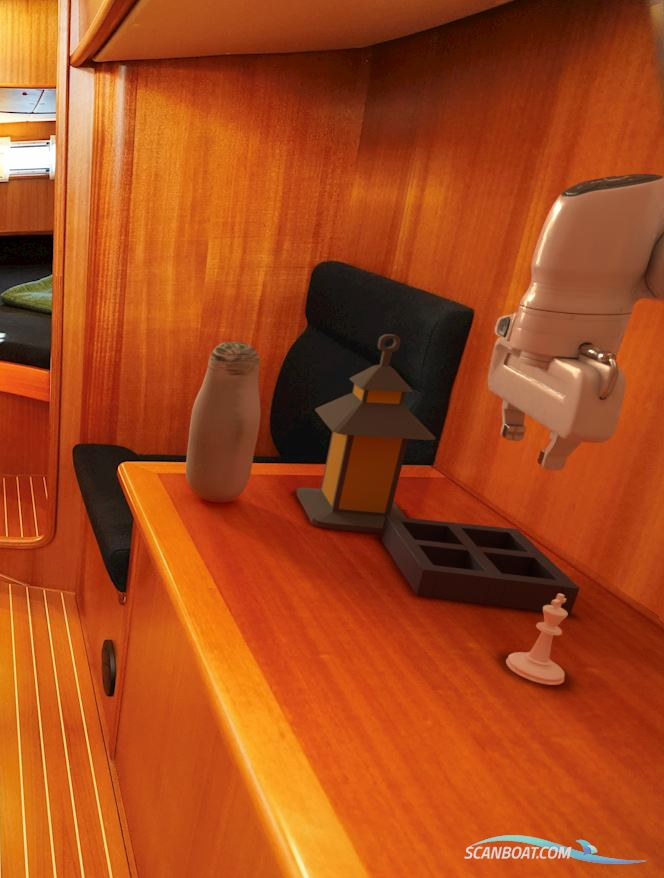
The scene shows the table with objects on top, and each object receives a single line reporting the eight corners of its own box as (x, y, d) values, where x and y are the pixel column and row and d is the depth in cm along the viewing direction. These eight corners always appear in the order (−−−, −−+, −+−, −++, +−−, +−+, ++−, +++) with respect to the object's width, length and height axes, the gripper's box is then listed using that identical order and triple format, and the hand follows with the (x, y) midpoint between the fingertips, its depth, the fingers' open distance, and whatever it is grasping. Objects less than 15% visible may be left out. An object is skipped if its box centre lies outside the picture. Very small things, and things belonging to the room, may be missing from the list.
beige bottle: (170, 491, 126) (189, 339, 117) (219, 484, 129) (240, 334, 119) (207, 514, 117) (230, 351, 108) (258, 506, 120) (286, 345, 110)
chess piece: (495, 663, 80) (520, 588, 77) (522, 652, 82) (548, 578, 78) (546, 690, 76) (574, 612, 72) (574, 678, 78) (603, 601, 74)
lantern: (416, 537, 108) (466, 346, 97) (313, 526, 112) (351, 343, 102) (386, 499, 120) (427, 327, 110) (294, 491, 125) (326, 324, 114)
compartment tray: (510, 553, 103) (517, 528, 101) (570, 615, 88) (580, 588, 87) (379, 538, 108) (385, 515, 106) (416, 595, 93) (423, 569, 92)
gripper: (664, 358, 66) (616, 491, 71) (555, 318, 84) (522, 426, 88) (580, 355, 68) (538, 484, 73) (490, 316, 86) (462, 422, 91)
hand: (529, 452), depth 81 cm, fingers open, 8 cm apart
